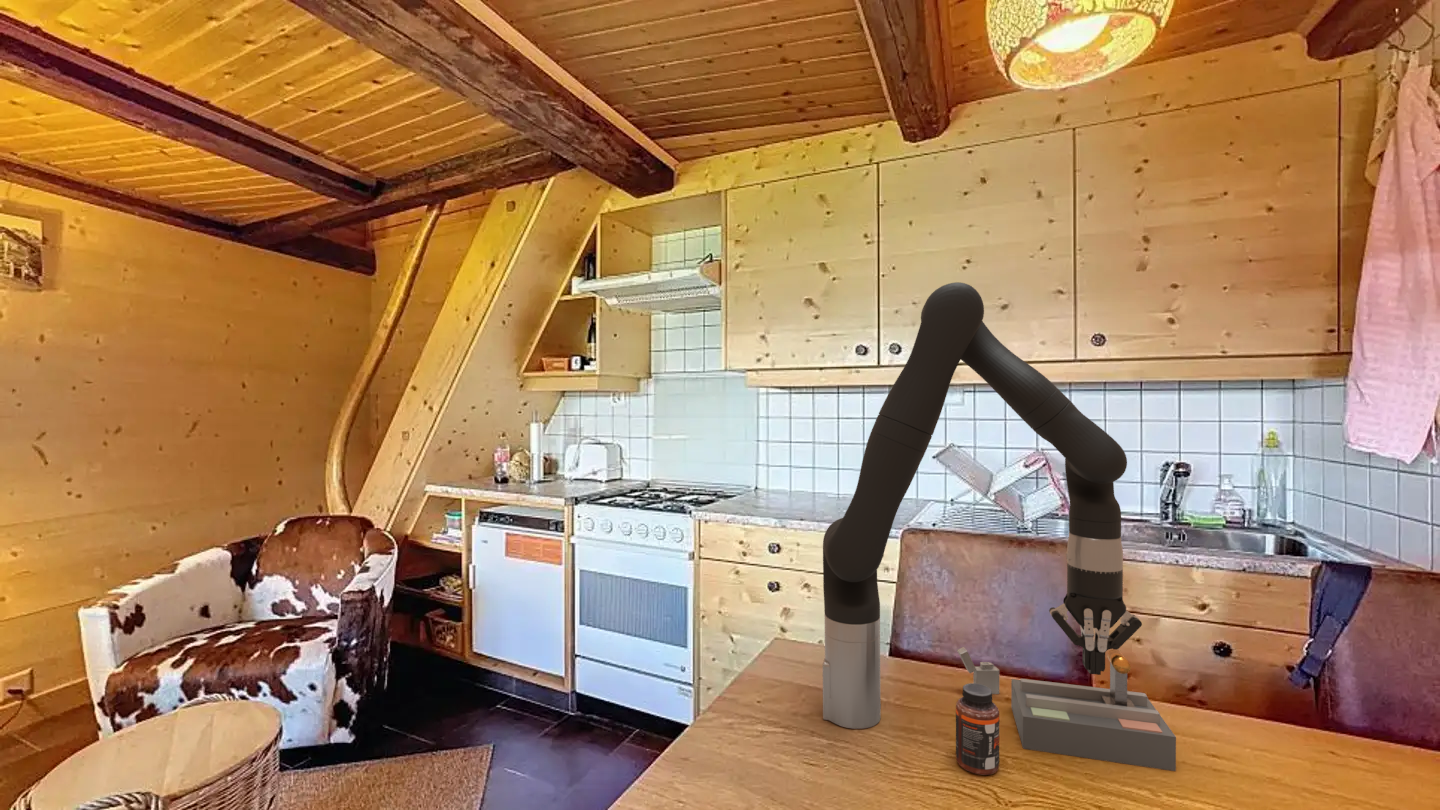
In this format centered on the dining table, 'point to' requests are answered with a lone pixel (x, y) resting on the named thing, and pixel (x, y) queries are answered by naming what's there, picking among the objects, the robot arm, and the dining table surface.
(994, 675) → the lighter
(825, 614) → the robot arm
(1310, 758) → the dining table surface
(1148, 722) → the switch box
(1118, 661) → the breaker handle
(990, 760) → the supplement bottle
